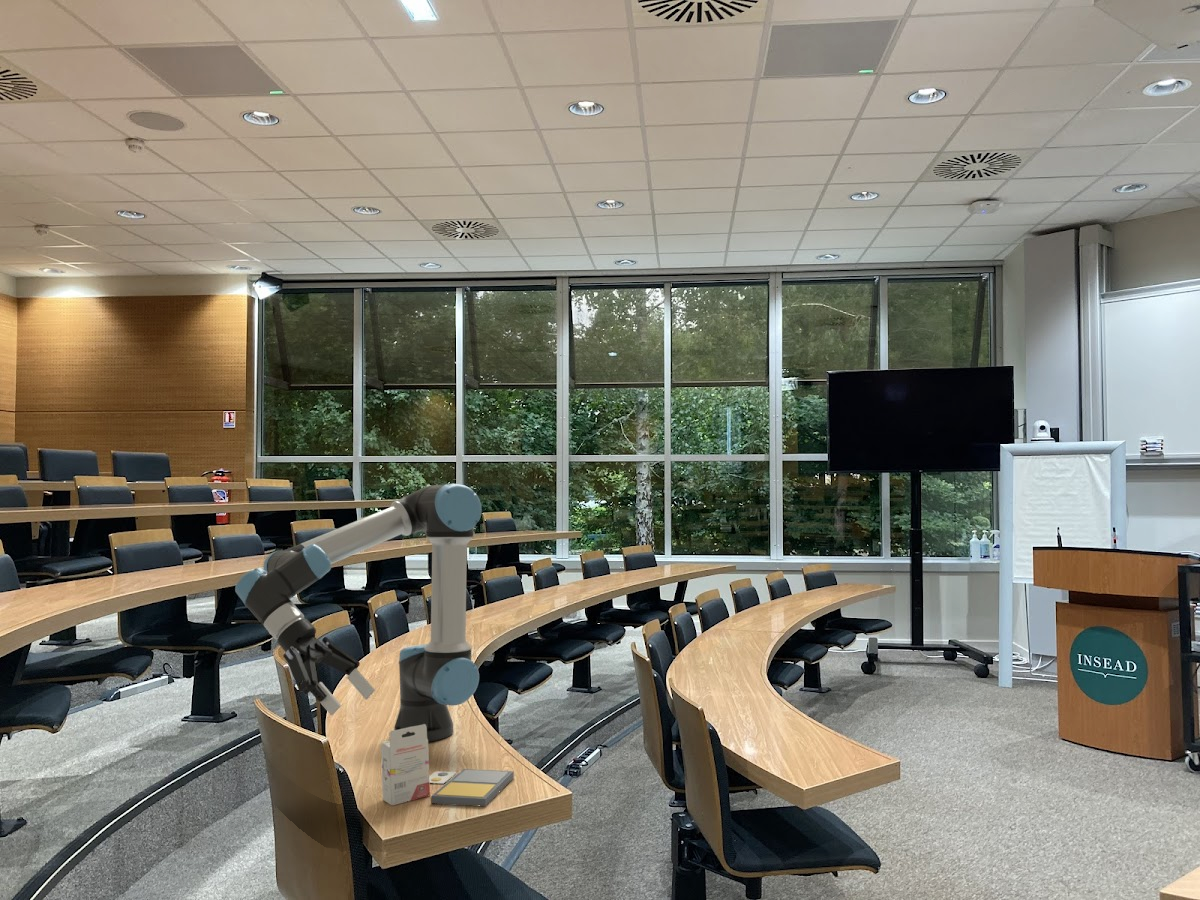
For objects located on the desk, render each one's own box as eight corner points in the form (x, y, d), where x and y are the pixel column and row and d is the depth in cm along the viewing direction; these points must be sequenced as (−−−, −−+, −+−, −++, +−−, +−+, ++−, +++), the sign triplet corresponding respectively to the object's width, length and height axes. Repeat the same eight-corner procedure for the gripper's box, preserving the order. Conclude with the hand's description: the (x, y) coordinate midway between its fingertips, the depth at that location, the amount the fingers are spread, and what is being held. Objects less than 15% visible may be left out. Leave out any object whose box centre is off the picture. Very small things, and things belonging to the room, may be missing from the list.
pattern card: (435, 772, 186) (435, 770, 186) (456, 773, 185) (456, 771, 185) (422, 783, 179) (422, 781, 179) (443, 784, 178) (443, 782, 178)
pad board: (463, 775, 183) (463, 768, 183) (513, 778, 181) (513, 770, 181) (431, 803, 167) (431, 795, 167) (485, 806, 164) (485, 798, 165)
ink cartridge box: (420, 789, 175) (419, 719, 176) (430, 796, 171) (428, 723, 172) (381, 799, 170) (379, 726, 171) (390, 806, 166) (389, 731, 167)
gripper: (313, 632, 192) (372, 700, 187) (242, 651, 168) (308, 730, 163) (333, 609, 191) (394, 677, 186) (265, 625, 167) (332, 704, 162)
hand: (354, 702), depth 175 cm, fingers open, 13 cm apart
